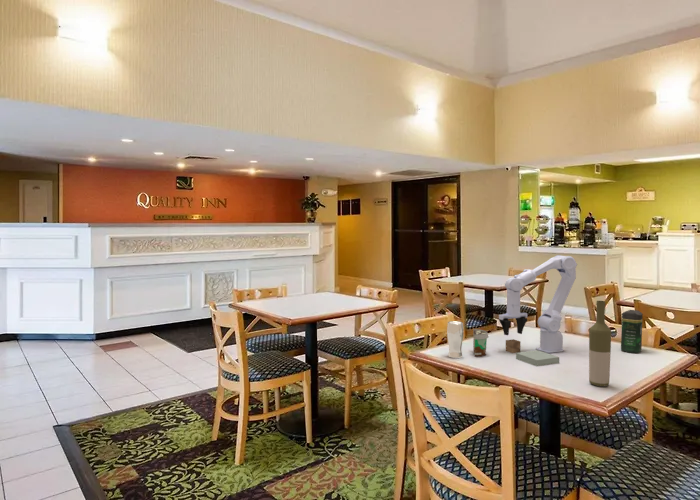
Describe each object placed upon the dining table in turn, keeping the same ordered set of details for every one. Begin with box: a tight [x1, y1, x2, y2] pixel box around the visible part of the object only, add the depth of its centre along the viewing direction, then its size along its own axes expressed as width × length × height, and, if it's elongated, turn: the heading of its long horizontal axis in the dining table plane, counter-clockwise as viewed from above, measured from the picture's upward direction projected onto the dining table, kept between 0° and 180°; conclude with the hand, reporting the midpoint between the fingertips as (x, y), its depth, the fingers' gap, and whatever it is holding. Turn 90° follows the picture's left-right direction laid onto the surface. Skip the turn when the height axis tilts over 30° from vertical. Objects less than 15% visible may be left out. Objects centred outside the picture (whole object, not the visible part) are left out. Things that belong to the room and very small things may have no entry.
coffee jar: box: [620, 309, 644, 354], centre depth 215 cm, size 10×8×19 cm
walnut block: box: [505, 339, 521, 354], centre depth 215 cm, size 4×4×5 cm
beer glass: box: [446, 320, 464, 359], centre depth 206 cm, size 7×7×15 cm
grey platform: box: [515, 349, 560, 367], centre depth 200 cm, size 12×12×3 cm
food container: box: [472, 328, 489, 358], centre depth 211 cm, size 12×6×10 cm, turn 168°
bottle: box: [588, 300, 612, 387], centre depth 169 cm, size 7×7×30 cm
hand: (513, 334), depth 214 cm, fingers open, 7 cm apart
